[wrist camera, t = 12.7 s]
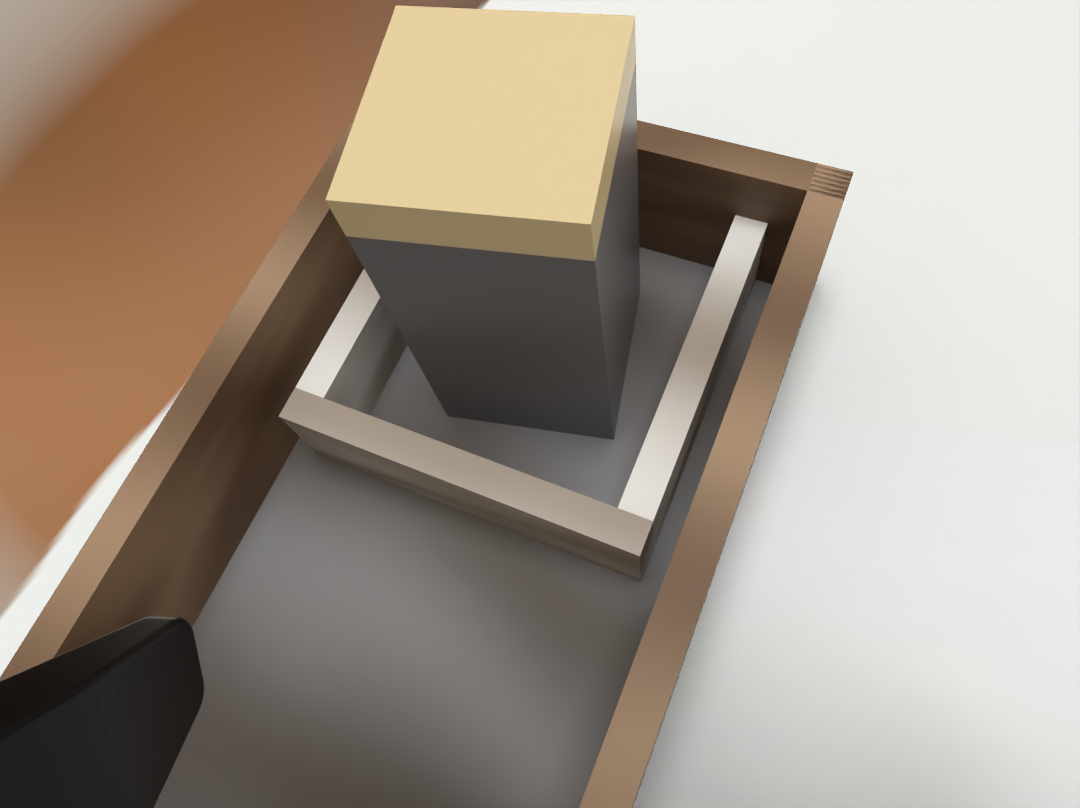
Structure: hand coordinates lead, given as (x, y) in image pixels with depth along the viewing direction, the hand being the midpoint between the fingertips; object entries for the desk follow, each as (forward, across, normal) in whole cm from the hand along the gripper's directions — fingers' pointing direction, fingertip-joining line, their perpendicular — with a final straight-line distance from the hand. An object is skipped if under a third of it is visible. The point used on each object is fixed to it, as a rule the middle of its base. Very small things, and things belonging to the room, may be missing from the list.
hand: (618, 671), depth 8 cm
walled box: (+11, +4, +4) cm, 13 cm away
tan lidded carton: (+14, +2, +1) cm, 14 cm away
